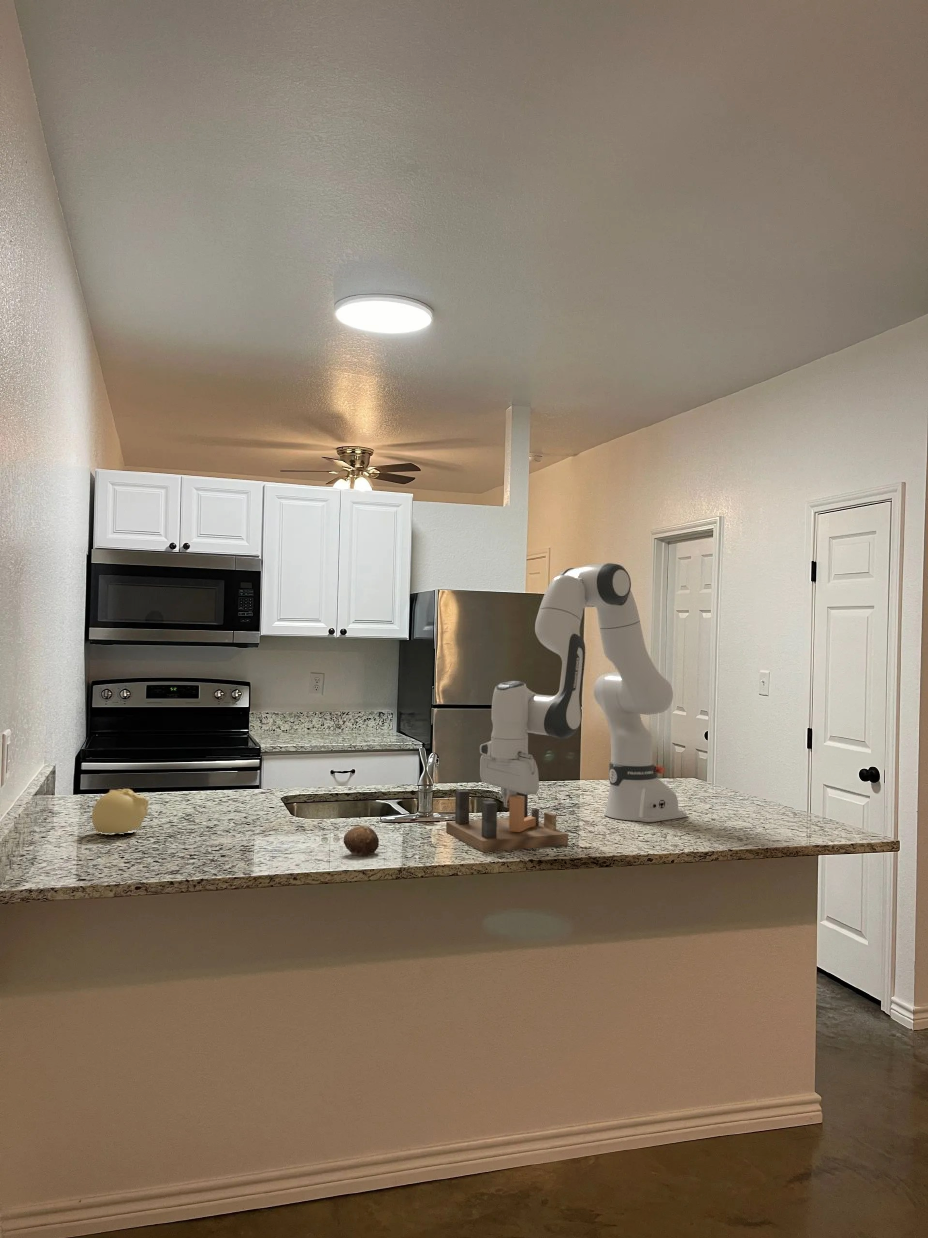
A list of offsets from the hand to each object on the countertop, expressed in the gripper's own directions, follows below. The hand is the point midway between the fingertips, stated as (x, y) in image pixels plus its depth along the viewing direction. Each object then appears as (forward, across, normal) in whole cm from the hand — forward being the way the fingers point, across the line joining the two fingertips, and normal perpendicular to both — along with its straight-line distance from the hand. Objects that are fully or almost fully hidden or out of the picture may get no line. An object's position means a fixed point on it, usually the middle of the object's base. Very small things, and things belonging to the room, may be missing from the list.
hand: (508, 807), depth 222 cm
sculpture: (+8, +50, +79) cm, 94 cm away
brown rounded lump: (+8, +5, +36) cm, 38 cm away
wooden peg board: (+8, +2, -1) cm, 8 cm away
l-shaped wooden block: (+5, -2, -3) cm, 6 cm away
